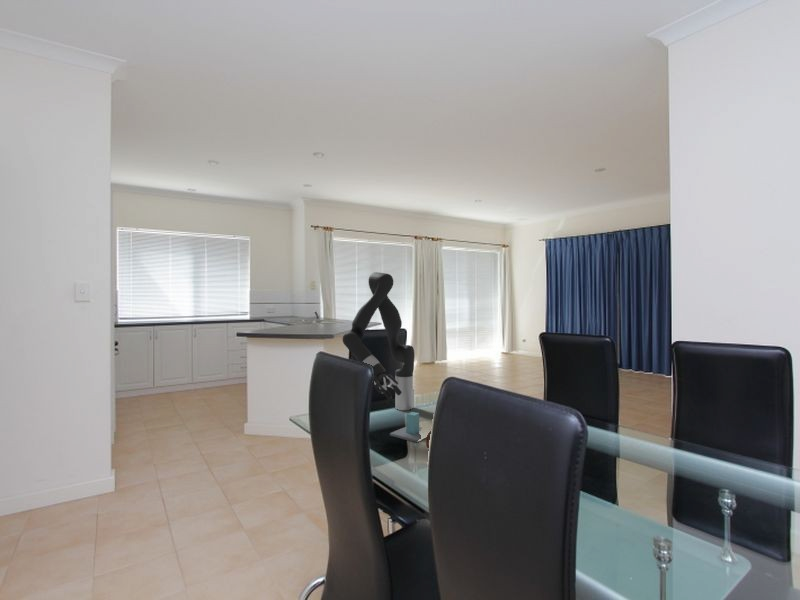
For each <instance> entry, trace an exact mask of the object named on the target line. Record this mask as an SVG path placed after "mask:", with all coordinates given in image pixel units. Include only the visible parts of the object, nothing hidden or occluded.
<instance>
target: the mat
mask: <svg viewBox="0 0 800 600" xmlns="http://www.w3.org/2000/svg"><path fill="white" fill-rule="evenodd" d="M422 428H423V427H420V426H419V431H421V429H422ZM389 436H391V437H394V438H398V439H402V440H406V441H408V442H412V441H418V440H419V439H421V435H420V434H419V432H418V433H416V434H410V433H406V426H404V427H401V428H399V429H397V430H394V431H392V432H390V433H389Z"/></svg>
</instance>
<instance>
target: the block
mask: <svg viewBox="0 0 800 600" xmlns="http://www.w3.org/2000/svg"><path fill="white" fill-rule="evenodd" d="M405 415H406V416H405V418H406V419H405V427H406V433H410V434H416V433H418V432H419V427H420V413H419V412H415V411H410V412H407V413H406V414H405Z"/></svg>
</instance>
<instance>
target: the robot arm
mask: <svg viewBox="0 0 800 600" xmlns="http://www.w3.org/2000/svg"><path fill="white" fill-rule="evenodd" d="M368 286H369V289H370V292H371V294H372V296H371V298H370V299H369V300H368V301H366V303H364V304H363V305H362V306H361V307H360V308H359V310H358V311H357V313H356V314H355V317H354V319H353V321H352V323H351V329H350V330H349V331H346V332H345V333H344V334H343V336H342V343H343V344H344V346H345V348H347V349H348V351H349V352H351V354H352V355H353V356H354V358H355V360H356V361H357V362H358V361H360V362H364V363H367V364H370V365H372V366H373V368H374V371H375V381H374V386H373V387H374V388H375V390H376V391H377V392H378V394H383V395H384V396H385V398H386V399H387V400H391V399H392V398H393V395H392V394H391V392H390V391H389V390H388V388H390V389H392V390H393V391H394V393H395V399H394V400H395V402H394V403H395V409H396V410H397V409H398V410H397V411H411V410H413V409H414V407H415V390H414V370H415V348H414V347H413V346H412V345H409V344H408V345H407V344H401V342H400V340H399V334H400V331H401V329H402V326H403V325H402V324H403V322H402V319H401V315H400V312H399V309H398V308H397V307H396V306H395V303H393V302H392V301H391V299H390V297H389V296H388V295H389V294H390V291H391V290H392V289H393V286H394V278H393V276H392V275H391V274H389V273H385V272H377V271H376V272H372V273H371V274H369V277H368ZM377 309H378V312H379V314H380V318H381V320H382V321H381V322H382V325H383V327H384V330H385V333H386V335H387V340H388V343H389V349H390V354H391V357H392V359H393V360H394V361H395V362H397V363H403V367H401V368H398V369H397V368H396V370H395V371H394V372H395V374H394V376H395V377H394V376H393V375H392V374H391V373H389V374H388V375H387V374H386V369H385V367H384V366H383V365H382V364H381V362H380V361H379V360H378V358H377V357H375V356H374V354H372V352H371V351H370V350H369V349H368V347H367V346H366V345H365V344H364V343H363V338H364V335H365V332H366V330H367V328H368V326H369V325H370V322H371V320H372V317H373V316H374V314H375V312H376V311H377ZM387 387H388V388H387ZM412 408H413V409H412ZM410 409H411V410H410Z"/></svg>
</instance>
